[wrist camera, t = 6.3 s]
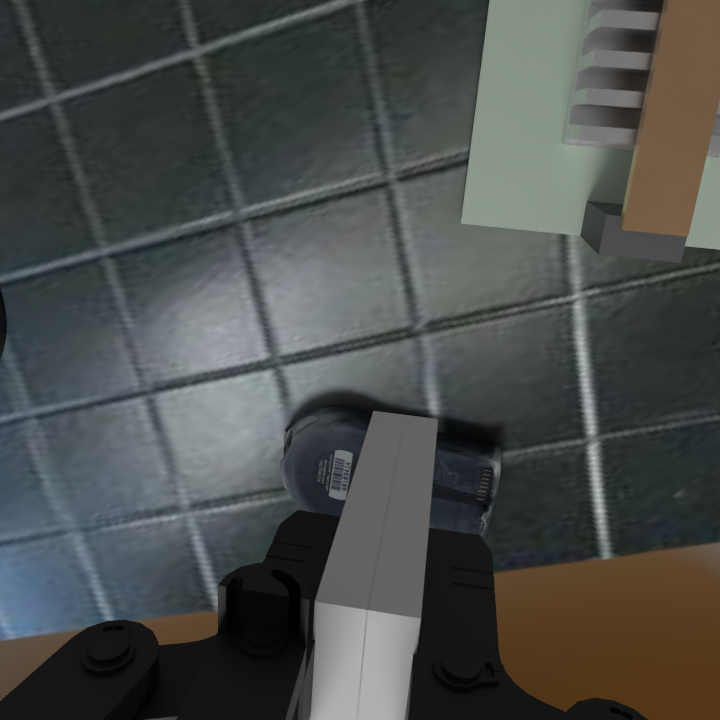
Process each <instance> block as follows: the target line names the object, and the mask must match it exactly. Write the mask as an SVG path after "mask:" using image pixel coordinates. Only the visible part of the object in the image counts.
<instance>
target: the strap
mask: <svg viewBox="0 0 720 720" xmlns="http://www.w3.org/2000/svg"><path fill="white" fill-rule="evenodd" d="M719 101H720V0H664V3H663V8H662V13H661V18H660V23H659V28H658V33H657V38H656V43H655V48H654V53H653V58H652V63H651V68H650V73H649V78H648V83H647V88H646V93H645V98H644V103H643V108H642V113H641V118H640V123H639V128H638V133H637V139H636V144H635V149H634V154H633V159H632V164H631V169H630V174H629V179H628V184H627V189H626V194H625V199H624V204H623V209H622V214H621V219H620V224H619V229H621V230H626V231H636V232H646V233H657V234H667V235H677V236H687V237H688V235H689V231H690V227H691V222H692V218H693V214H694V209H695V205H696V201H697V196H698V192H699V188H700V183H701V179H702V175H703V170H704V166H705V162H706V157H707V153H708V149H709V144H710V140H711V136H712V131H713V127H714V123H715V118H716V114H717V110H718V105H719Z"/></svg>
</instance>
